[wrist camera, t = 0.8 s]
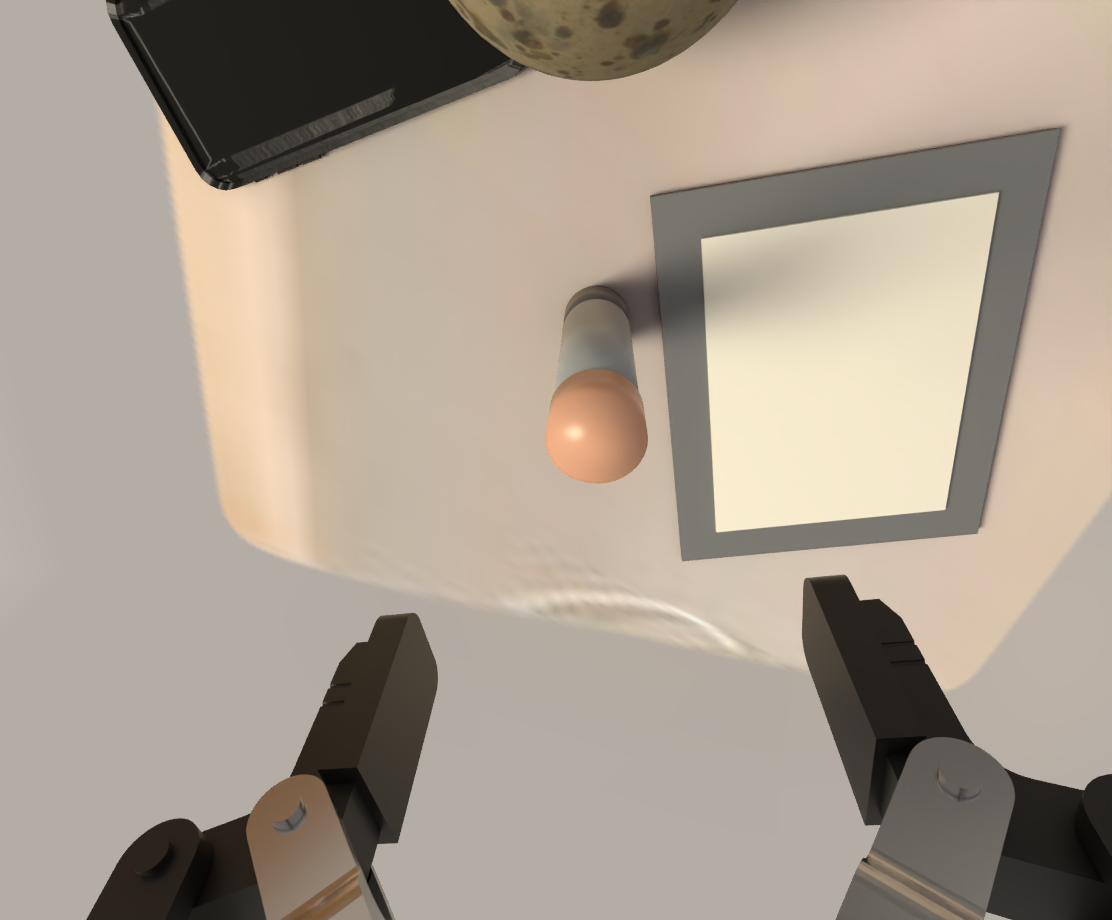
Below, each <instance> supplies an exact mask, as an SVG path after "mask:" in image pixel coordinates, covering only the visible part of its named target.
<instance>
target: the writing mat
mask: <svg viewBox="0 0 1112 920" xmlns="http://www.w3.org/2000/svg"><path fill="white" fill-rule="evenodd" d="M1059 133H1060V129H1055V128H1053V129H1047V130H1041V131H1035V132H1029V133H1023V134H1017V135H1011V136H1005V137H999V138H993V139H987V140H981V141H975V142H969V143H963V144H958V145H952V146H946V147H940V148H934V149H928V150H922V151H916V152H910V153H904V154H898V155H892V156H886V157H880V158H874V159H868V160H862V161H856V162H850V163H844V164H838V165H832V166H826V167H820V168H814V169H808V170H802V171H796V172H790V173H784V174H778V175H772V176H766V177H760V178H754V179H748V180H742V181H736V182H730V183H724V184H718V185H712V186H706V187H700V188H694V189H688V190H682V191H676V192H670V193H664V194H658V195H652V196H650V201H651V212H652V224H653V235H654V247H655V258H656V270H657V281H658V293H659V304H660V316H661V327H662V339H663V350H664V362H665V373H666V385H667V396H668V408H669V420H670V431H671V443H672V454H673V466H674V477H675V489H676V500H677V512H678V523H679V535H680V546H681V557H682V561H690V560H701V559H711V558H722V557H733V556H743V555H754V554H765V553H776V552H786V551H797V550H808V549H818V548H829V547H840V546H851V545H861V544H872V543H883V542H893V541H904V540H915V539H925V538H936V537H947V536H958V535H968V534H977V533H978V529H979V524H980V519H981V514H982V509H983V504H984V499H985V494H986V490H987V485H988V480H989V475H990V470H991V465H992V460H993V455H994V450H995V446H996V441H997V436H998V431H999V426H1000V421H1001V416H1002V411H1003V407H1004V402H1005V397H1006V392H1007V387H1008V382H1009V377H1010V372H1011V368H1012V363H1013V358H1014V353H1015V348H1016V343H1017V338H1018V333H1019V328H1020V324H1021V319H1022V314H1023V309H1024V304H1025V299H1026V294H1027V289H1028V285H1029V280H1030V275H1031V270H1032V265H1033V260H1034V255H1035V250H1036V245H1037V241H1038V236H1039V231H1040V226H1041V221H1042V216H1043V211H1044V206H1045V202H1046V197H1047V192H1048V187H1049V182H1050V177H1051V172H1052V167H1053V163H1054V158H1055V153H1056V148H1057V143H1058V138H1059Z"/></svg>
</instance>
